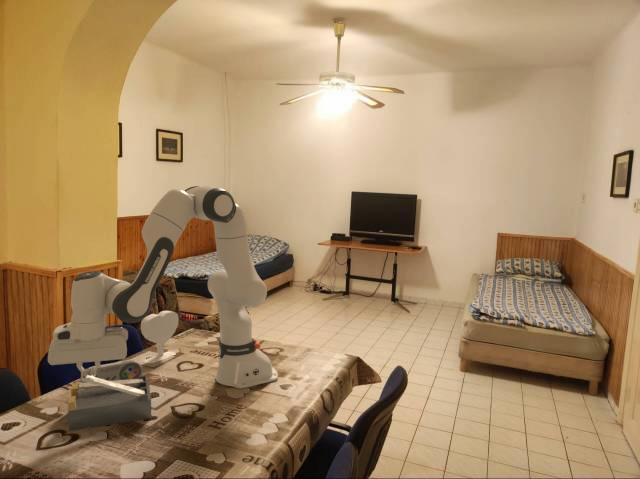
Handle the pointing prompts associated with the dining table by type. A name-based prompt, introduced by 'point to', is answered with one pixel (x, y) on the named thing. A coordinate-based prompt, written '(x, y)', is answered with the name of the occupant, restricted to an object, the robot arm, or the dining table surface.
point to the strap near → (113, 385)
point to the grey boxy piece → (107, 406)
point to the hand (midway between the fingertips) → (88, 375)
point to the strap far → (124, 382)
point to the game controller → (117, 371)
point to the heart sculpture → (159, 332)
